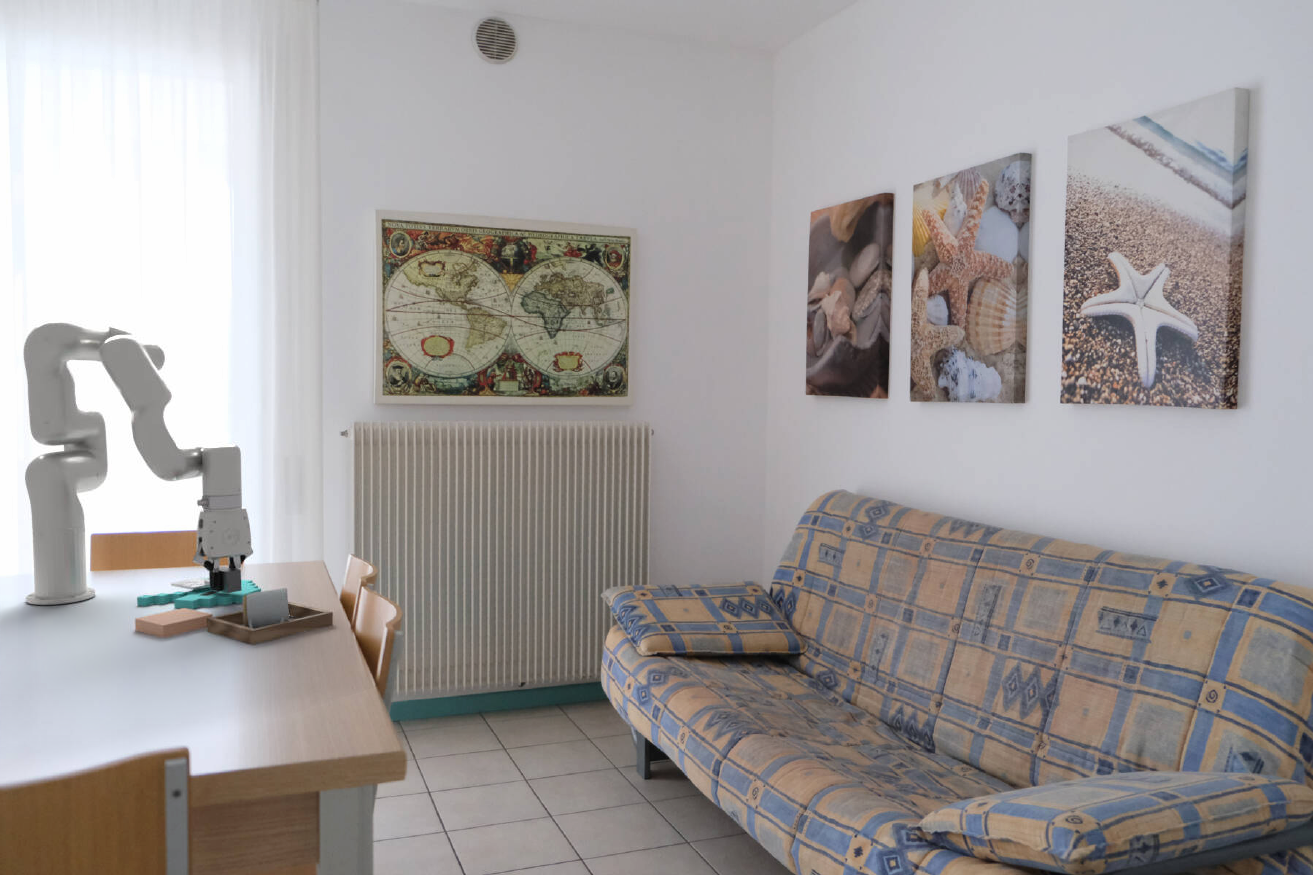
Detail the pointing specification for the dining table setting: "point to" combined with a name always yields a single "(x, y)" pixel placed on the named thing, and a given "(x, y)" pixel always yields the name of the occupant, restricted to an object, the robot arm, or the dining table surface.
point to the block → (172, 622)
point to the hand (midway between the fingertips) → (224, 587)
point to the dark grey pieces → (228, 580)
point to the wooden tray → (233, 624)
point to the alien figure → (200, 597)
